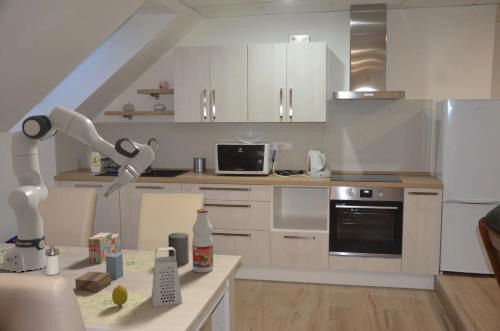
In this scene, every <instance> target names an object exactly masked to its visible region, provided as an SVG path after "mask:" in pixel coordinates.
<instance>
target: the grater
mask: <svg viewBox="0 0 500 331" xmlns="http://www.w3.org/2000/svg"><path fill="white" fill-rule="evenodd" d="M169 250H174V251H175V249H174V248H173V247H169V246H168V247H166V246H165V247H157V248H156V249H155V250H154V254H155V255H154V256H155V257H154V262H153V275H152V285H151V286H152V287H151V300H152V305H153V307H161V306H162V307H163V306H171V305H180V304H183V299H182V298H183V297H182V292H181V284H180V277H179V270H178V269H179V268H178V266H177V261H176V251H175V257H174V256H171V257H169V256H161V257H157V253H158V252H160V251H161V252H162V251H169ZM161 298H162V299H161ZM164 298H165V299H164ZM163 301H164V302H163ZM166 301H167V302H166Z"/></svg>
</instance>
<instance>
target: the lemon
mask: <svg viewBox="0 0 500 331" xmlns="http://www.w3.org/2000/svg"><path fill="white" fill-rule="evenodd" d="M111 294H112V295H111V299H112V302H113V304H115V305H117V306H118V307H122V306H123V305H124V304H125V303H127V300H128V297H129V293H128V291H127V289H126V287H125V286H123V285H119V284H118V286H116V287H115V288H113V290H112V293H111Z"/></svg>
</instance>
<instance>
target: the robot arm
mask: <svg viewBox="0 0 500 331" xmlns="http://www.w3.org/2000/svg"><path fill="white" fill-rule="evenodd" d="M58 131H59V132H62V133H64V134H65V135H68V136H70V137H72V138H74V139H76V140H78V141H79V142H80V143H81V142H82V143H83V144H85V145H86V146H88V147H89V148H91V149H93V150H94V151H96V152H98V153H99V154H101V155H103V156H104V157H106V158H108V159H109V160H110V161H112V163H113V164H114V165H115V166H116V167H118V170H117V172H118V173H117V177H116V178H115V179H114V180H113V181H112V182H110V184H109V185H108V186H107V187H106V191H105V193H103V194H102V196H103V197H104V198H105V199H106V198H107V197H109V196H110V195H113V194H114V193H115V192H117V191H119V189H122V188H123V187H125V186H126V185H128V184H129V183H131V184H133V183H134V182H135V181H136V180H137V179H138V178H139V177H140V176H141V175H142V172H144V171H145V170H147V169H148V167H149V166H150V165H151V164H152V162H153V161H154V160H155V156H156V155H155V152H154V149H152V147H151V146H150V145H148V144H141V143H138V142H135V141H133V140H132V139H131V138H128V137H121V138H118V140H116V142H115V144H114V145H113V144H112V143H110V142H108V141H107V140H105V139H103V138H102V137H101V136H100V135H99V134H98V131H97V130H96V127H95V125H94V123H93V122H92V120H91V119H89V118H88V117H87V116H85V115H84V114H82V113H79V112H78V111H75V110H73V109H70V108H67V107H64V106H56V107H54V108H53V109H52V110H51V111H50V113H49V114H48V115H46V114H38V115H31V116H29V117H26V119H25V118H24V120H23V122H22V123H21V130H19V131H15V132H14V133H13V134H12V136H11V142H10V144H11V145H10V151H11V152H10V154H11V165H12V173H13V175H14V176H15V177H16V179H17V181H18V185H19V186H18V187H16V188H14V189H13V190H12V191H10V192H9V194H8V196H7V200H6V201H7V204H8V206H9V207H10V208H11V209H12V211H13V214H14V218H15V221H16V230H17V237H16V238H15V239H14V240H12V241H13V242H12V243H14V246H13V247H12V248H10V249H9V250H8V251H7V252H5V254H4V255H3V260H2V261H3V262H2V263H0V270H3V269H4V270H3V271H8V270H9V272H13V271H16V272H15V273H22V272H21V271H24V272H28V271H27V270H32V271H36V269H37V270H41V269H44V268H46V267H45V265H46V256H47V255H46V256H45V252H46V253H47V251H46V237H45V235H44V234H45V232H44V219H43V217H42V216H41V215H40V211H39V208H38V207H39V205H42V204H43V203H44V202H45V200H46V199H47V198H48V195H49V191H48V188H47V186H46V185H45V183H44V180H43V177H42V174H41V171H40V163H39V153H38V152H39V151H38V144H39V142H40V141H41V142H42V141H44V140H47V139H49V138H52V137H53V136H55V135H56V134H57V133H58ZM40 268H41V269H40Z"/></svg>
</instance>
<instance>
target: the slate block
mask: <svg viewBox="0 0 500 331" xmlns="http://www.w3.org/2000/svg"><path fill="white" fill-rule="evenodd" d="M123 258H124V257H123V253H112V254H109V255H107V256H106V261H105V269H106V270H105V271H106V272H105V273H111V280H114V281H116V280H119V279H121V278H122V277H124V260H123Z"/></svg>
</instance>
